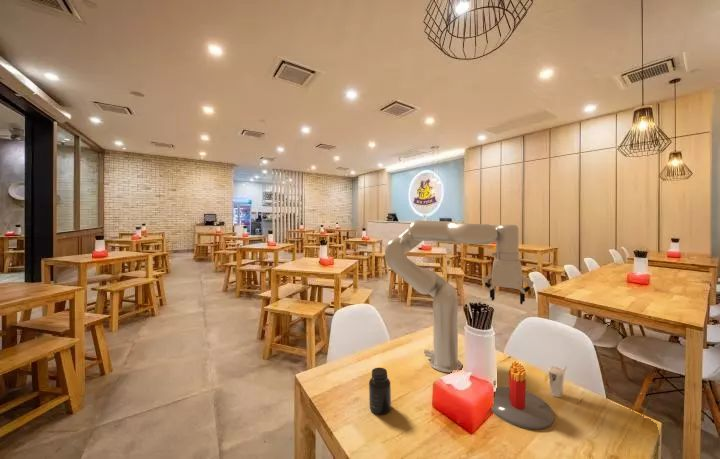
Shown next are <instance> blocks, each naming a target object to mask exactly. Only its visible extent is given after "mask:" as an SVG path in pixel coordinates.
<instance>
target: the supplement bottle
mask: <svg viewBox="0 0 720 459" xmlns="http://www.w3.org/2000/svg"><path fill="white" fill-rule="evenodd" d="M391 390H392V388H391V380H390V379H389V378H388V370H387V369H386V368H384V367H375V368H372V370H371V378H370V379H369V382H368V394H369V395H368V400H369V403H368V404H369V410H370V411H371V413H373V414H374V415H377V416H384V415H386V414H388V413H390V411H391V409H392V393H391Z"/></svg>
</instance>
